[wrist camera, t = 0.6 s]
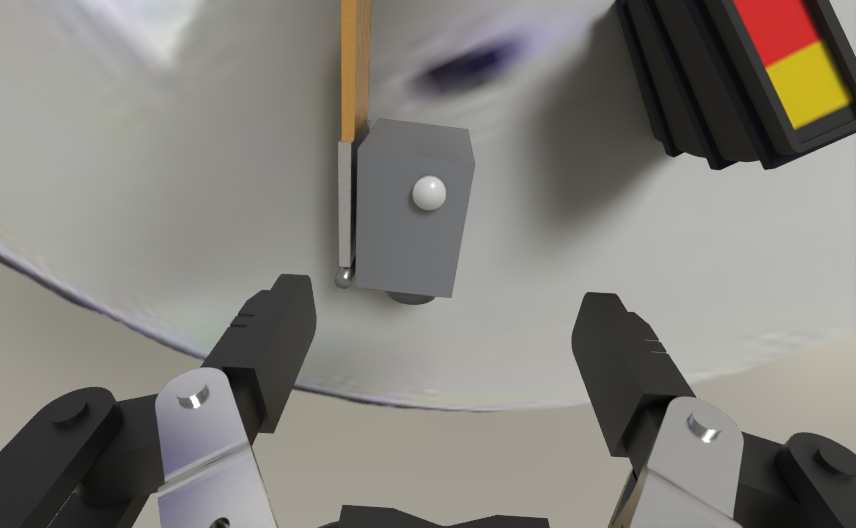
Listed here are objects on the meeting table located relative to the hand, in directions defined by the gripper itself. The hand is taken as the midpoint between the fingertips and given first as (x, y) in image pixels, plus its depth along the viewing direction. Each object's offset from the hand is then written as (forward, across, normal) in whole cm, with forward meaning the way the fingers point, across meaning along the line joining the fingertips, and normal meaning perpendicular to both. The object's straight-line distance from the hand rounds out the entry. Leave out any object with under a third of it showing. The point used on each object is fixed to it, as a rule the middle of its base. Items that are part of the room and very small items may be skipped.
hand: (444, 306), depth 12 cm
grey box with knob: (+23, +2, +6) cm, 24 cm away
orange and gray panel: (+22, +6, +1) cm, 23 cm away
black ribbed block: (+23, -14, -6) cm, 28 cm away
